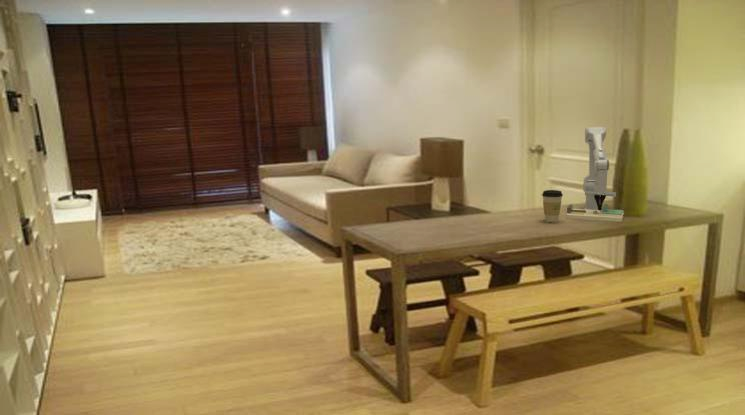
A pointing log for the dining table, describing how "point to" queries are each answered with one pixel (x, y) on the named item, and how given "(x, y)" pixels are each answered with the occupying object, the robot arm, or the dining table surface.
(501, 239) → the dining table surface
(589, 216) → the board
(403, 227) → the dining table surface
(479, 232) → the dining table surface
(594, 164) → the robot arm
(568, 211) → the t key
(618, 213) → the cover
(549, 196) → the coffee cup
